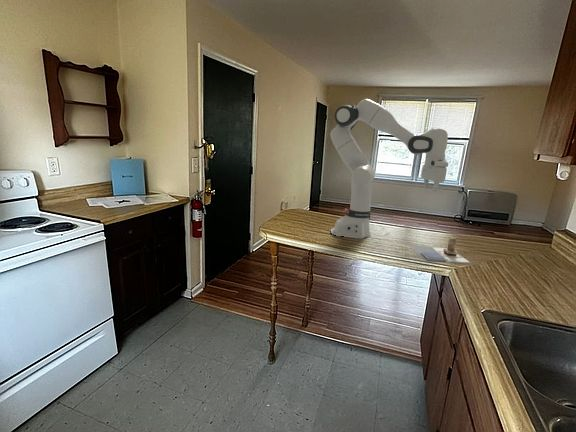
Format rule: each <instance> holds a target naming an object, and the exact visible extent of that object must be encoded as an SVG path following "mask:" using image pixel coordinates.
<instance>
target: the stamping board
mask: <svg viewBox="0 0 576 432" xmlns="http://www.w3.org/2000/svg"><path fill="white" fill-rule="evenodd" d="M409 247H410V248H412V249H413V251H414V252H416V253H417V254H418V255H419V256H420V257H421V258H423V260H424V261H426V262H437V263H453V264H454V263H455V264H456V263H457V264H473V262H470V260H468V259H466V258H464V256H462V255H461V254H459V253H458V254H457V255H456V256H447V255H446V254H445V253H444V251H443V250H444V248H445V247H433V246H432V247H431V246H416V245H415V246H413V245H411V246H409Z"/></svg>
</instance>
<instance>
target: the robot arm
mask: <svg viewBox="0 0 576 432" xmlns="http://www.w3.org/2000/svg"><path fill="white" fill-rule="evenodd" d="M334 120H335V122H336V126H335V127H333V129H331V131H330V134H329V135H330V136H329V137H330V140H331V142H332V144H333V146H334V148H335V151H336V152H337V153H338V155H339V157H340V158H341V160H342V162H343V163H344V164H345V166H346V167H347V168H348V169H349V171H350V172H351V181H350V182H351V186H350V187H351V189H350V192H351V193H350V195H351V197H350V204H349V205H350V206H349V208H346V207H345V208H344V212H345V215H344V216H342V217H340V218H338V219H337V220H336V222H335V223H334V227H331V228H330V231H331V232H330V234H331V233H332V234H331V235H333V234H334V235H336V236H335V237H340V236H344V237H343V238H351V239H360V240H361V239H365V238H368V237H370V236H371V230H370V220H371V214H372V212H371V211H372V210H371V206H372V205H371V204H372V194H373V181H374V180H375V179H374V178H375V176H376V171H375V169H374V168H373V166H372V165H371V163H370V162H369V160H368V159H367V157H366V156H365V154H364V153H363V151H362V150H361V148H360V147H359V145H358V143H357V141H356V140H355V138H354V137H353V135H352V132H351V130H352V129H353V128H354V127H355V126H356V125H357V123H358V121H361V122H364V123H366V124H367V125H368V126H370V127H371V128H373V129H375V130H376V131H378V132H379V131H380V132H381V133H385V134H388V135H391V136H393V138H394V137H395V138H396V139H397V140H399V141H400V142H401V143H403V144H404V145H405V146H406V148H407V150H408V151H409V152H410V153H411V154H413V155H417V156H418V155H422V154H425V160H424V164H423V165H422V168H421V172H420V177H421V179H423V183H424V188H426V189H429V187H430V184H429V182H430V181H432V182H433V186H432V188H431V191H435V192H436V191H438V187H439V186H440V183H444V182H445V180H446V176H447V172H448V171H447V168H448V167H449V162H448V161H447V160H446V159H445V158H446V150H447V146H448V139H449V137H448V132H447V131H446V130H445V129H442V128H436V127H432V128H430V129H429V130H427V131H424V132H422V133H418V134H414V133H413V132H411V131H410V130H408V129H407V128H405V127H403V126H402V125H401V124H400V123H399V122H398V121H397V120H396V118H395V117H394V115H393V114H392V113H391V112H390V111H389V110H388V109H387V108H385V107H384V106H382V105H381V104H380V103H377V102H375V101H373V100H372V99H369V98H364V99H362V100H360V101H359V102H358V103H357V105H355V104H353V105H351V104H344V105H341V106H339V107H337V109H336V110H335V112H334ZM334 235H333V236H334Z"/></svg>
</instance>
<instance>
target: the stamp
mask: <svg viewBox="0 0 576 432" xmlns="http://www.w3.org/2000/svg"><path fill="white" fill-rule="evenodd" d="M456 242H457V238H456V237H452V236H451V237H448V243H447V247H443V248H444V250H443V251H444V253H445V254H446V255H447V256H456V255H457V254H459V251H457V250H456V244H457V243H456Z"/></svg>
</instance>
